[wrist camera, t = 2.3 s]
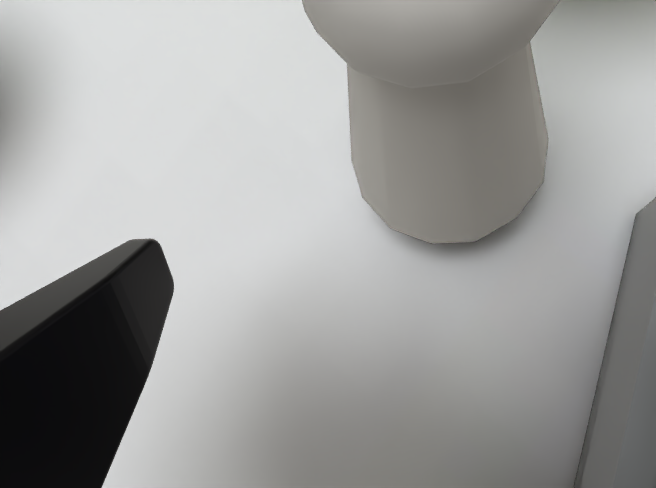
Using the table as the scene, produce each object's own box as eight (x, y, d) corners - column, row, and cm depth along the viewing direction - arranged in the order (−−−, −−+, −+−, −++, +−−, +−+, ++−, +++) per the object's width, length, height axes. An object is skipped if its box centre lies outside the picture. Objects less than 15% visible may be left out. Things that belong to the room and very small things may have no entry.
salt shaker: (576, 176, 19) (783, -159, 7) (444, 293, 19) (411, 172, 7) (452, 63, 21) (437, -373, 8) (332, 171, 21) (145, -99, 9)
